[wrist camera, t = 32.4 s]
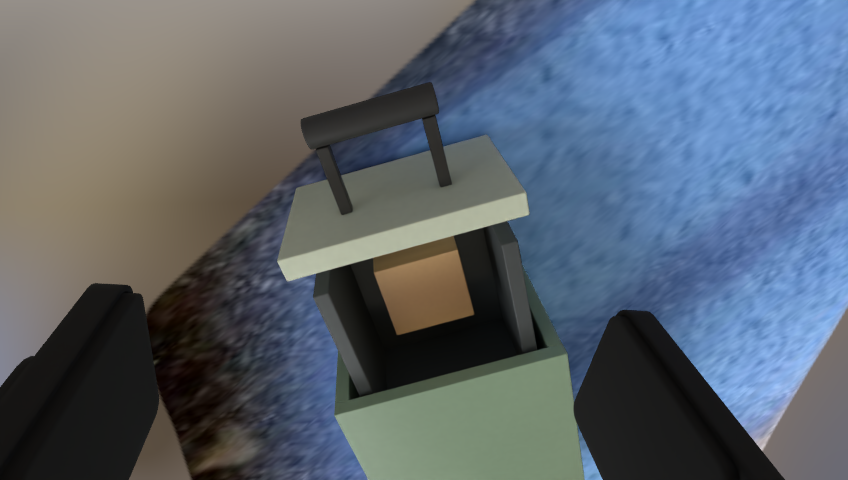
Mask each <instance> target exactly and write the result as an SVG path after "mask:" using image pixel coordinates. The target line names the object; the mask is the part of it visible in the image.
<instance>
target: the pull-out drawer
mask: <svg viewBox="0 0 848 480" xmlns="http://www.w3.org/2000/svg"><path fill="white" fill-rule="evenodd" d="M438 113H439V107H438V102H437V98H436V94H435V91H434V88H433V85H432V83H431V82H428V83H425V84H421V85H418V86H415V87H411V88H408V89H404V90H401V91H397V92H394V93H390V94H387V95H383V96H380V97H376V98H373V99H369V100H366V101H362V102H359V103H356V104H352V105H349V106H345V107H342V108H338V109H334V110H331V111H327V112H324V113H320V114H317V115H313V116H310V117H307V118H303V119H301V129H302V133H303V136H304V138H305V141H306V143H307V145H308V146H309V148H310V149H316V148H317V149H316V152H317V154H318V157H319V159H320V162H321V165H322V167H323V170H324V172H325V175H326V177H327V180H323V181H320V182H316V183H312V184H309V185H305V186H302V187H298V188H296V192H295V195H294V199H293V203H292V207H291V211H290V214H289V218H288V222H287V226H286V230H285V233H284V237H283V241H282V245H281V248H280V252H279V256H278V260H277V262H278V264H279V266H280V268H281V270H282V272H283V274H284V276H285V278H286V280H287V281H291V280H294V279H298V278H301V277H305V276H309V275H312V274H316V280H315V287H314V294H313V298H314V300H315V302H316V304H317V307H318V309H319V311H320V313H321V315H322V317H323V319H324V321H325V323H326V326H327V328H328V330H329V332H330V334H331V336H332V338H333V340H334V342H335V345H336V347H337V349H338V351H339V353H340V355H341V357H342V359H343V362H344V364H345V366H346V368H347V370H348V372H349V374H350V376H351V378H352V381H353V383H354V385H355V387H356V389H357V391H358V393H359V395H360V397H363V396H367V395H371V394H374V393H378V392H382V391H386V390H389V389H393V388H397V387H401V386H404V385H408V384H412V383H416V382H420V381H423V380H427V379H431V378H435V377H438V376H442V375H446V374H450V373H453V372H457V371H461V370H465V369H468V368H472V367H476V366H480V365H484V364H487V363H491V362H495V361H499V360H502V359H506V358H510V357H514V356H517V355H521V354H525V353H529V352H532V351H536V350H537V346H536V340H535V334H534V329H533V323H532V318H531V312H530V306H529V301H528V295H527V290H526V284H525V279H524V273H523V267H522V262H521V256H520V251H519V245H518V241H517V239H516V237H515V235H514V233H513V231H512V229H511V228H510V226H509V224H508V222H507V221H508V220H512V219H516V218H519V217H523V216H527V215H529V207H528V200H527V194H526V191H525V190H524V188H523V187H522V185H521V184H520V183H519V181H518V180H517V178H516V177H515V175H514V174H513V172H512V171H511V169H510V168H509V166H508V165H507V163H506V162H505V160H504V159H503V157H502V156H501V154H500V153H499V151H498V150H497V148H496V147H495V145H494V144H493V142H492V141H491V139H490V138H489V136H488V135H487V134H486V135H483V136H479V137H476V138H472V139H469V140H465V141H461V142H458V143H454V144H451V145H447V146H444V147H443V144H442V140H441V136H440V132H439V128H438V124H437V120H436V116H435V114H438ZM421 118H422V120H423V124H424V128H425V132H426V136H427V140H428V143H429V147H430V150H429V151H426V152H422V153H419V154H415V155H412V156H408V157H405V158H401V159H398V160H394V161H390V162H387V163H383V164H380V165H376V166H373V167H369V168H366V169H362V170H359V171H355V172H351V173H348V174H344V175H341V174H340V171H339V168H338V166H337V163H336V160H335V157H334V155H333V152H332V149H331V147H330V144H333V143H337V142H340V141H344V140H348V139H351V138H355V137H358V136H362V135H365V134H369V133H372V132H376V131H379V130H383V129H386V128H390V127H393V126H397V125H400V124H404V123H407V122H411V121H414V120H418V119H421ZM450 236H454V239H455V242H456V245H457V248H458V252H459V255H460V259H461V263H462V267H463V271H464V275H465V279H466V283H467V287H468V290H469V294H470V298H471V302H472V306H473V310H474V315H471V316H468V317H464V318H460V319H457V320H453V321H449V322H445V323H442V324H438V325H434V326H430V327H427V328H423V329H419V330H416V331H412V332H408V333H404V334H401V335H397V334H396V331H395V328H394V326H393V323H392V320H391V318H390V315H389V312H388V310H387V307H386V304H385V302H384V299H383V296H382V294H381V291H380V288H379V286H378V283H377V281H376V278H375V275H374V269H373V258H374V257H378V256H381V255H385V254H389V253H392V252H396V251H400V250H403V249H407V248H410V247H414V246H418V245H421V244H425V243H429V242H432V241H436V240H439V239H443V238H447V237H450Z"/></svg>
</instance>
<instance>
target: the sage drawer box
mask: <svg viewBox="0 0 848 480" xmlns="http://www.w3.org/2000/svg"><path fill="white" fill-rule="evenodd" d="M522 267H523V266H522ZM523 273H524V279H525V284H526V290H527V295H528V301H529V306H530V312H531V318H532V323H533V329H534V334H535V340H536V346H537V350H536V351H532V352H529V353H525V354H521V355H517V356H514V357H510V358H506V359H502V360H499V361H495V362H491V363H487V364H484V365H480V366H476V367H472V368H468V369H465V370H461V371H457V372H453V373H450V374H446V375H442V376H438V377H435V378H431V379H427V380H423V381H420V382H416V383H412V384H408V385H404V386H401V387H397V388H393V389H389V390H386V391H382V392H378V393H374V394H371V395H367V396H363V397H360V395H359V393H358V391H357V389H356V387H355V385H354V383H353V381H352V378H351V376H350V374H349V372H348V370H347V368H346V366H345V364H344V362H343V359H342V357H341V355H340V353H339V351H338V362H337V380H336V398H335V414H334V416H335V418H336V419H337V421H338V423H339V425H340V427H341V429H342V431H343V433H344V435H345V436H346V438H347V440H348V442H349V444H350V446H351V448H352V450H353V452H354V453H355V455H356V457H357V459H358V461H359V463H360V465H361V467H362V469H363V470H364V472H365V474H366V476H367V478H368V480H584V473H583V465H582V458H581V451H580V443H579V436H578V428H577V422H576V420H575V417H574V411H573V407H574V399H573V391H572V384H571V377H570V369H569V362H568V354H567V352H566V350H565V348H564V346H563V344H562V343H561V341H560V339H559V337H558V335H557V333H556V331H555V329H554V327H553V325H552V323H551V321H550V319H549V317H548V315H547V313H546V311H545V309H544V307H543V305H542V303H541V301H540V299H539V297H538V295H537V293H536V291H535V289H534V287H533V285H532V283H531V281H530V279H529V277H528V275H527V273H526V271H525V270H524V268H523Z"/></svg>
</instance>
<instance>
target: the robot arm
mask: <svg viewBox="0 0 848 480" xmlns="http://www.w3.org/2000/svg"><path fill="white" fill-rule="evenodd" d="M158 404H159V394H158V388H157V382H156V375H155V369H154V363H153V357H152V351H151V344H150V338H149V332H148V326H147V320H146V314H145V307H144V301H143V297H142V295H141V294H137V293H133V291H132V288H131V287H130V286H128V285H117V284H98V283H95V284H91V285H90V286H89V287H88V288H87V289H86V291H85V292H84V293H83V295H82V296H81V297H80V298H79V300H78V301H77V302H76V304H75V305H74V306H73V308H72V309H71V310H70V311H69V312H68V314H67V315H66V316H65V318H64V319H63V320H62V321H61V323H60V324H59V325H58V327H57V328H56V329H55V331H54V332H53V333H52V334H51V336H50V337H49V338H48V339H47V341H46V342H45V343H44V344H43V346H42V347H41V348H40V350H39V351H38V352H37V353H36V355H35V356H30V357H28V358H26V359H24V360H23V361H22V362H21V363H20V364H19V365H18V366H17V367H16V368H15V369H14V371H13V372H12V373H11V374H10V376H9V377H8V378H7V379H6V381H5V382H4V383H3V385H1V387H0V480H129V477H130V476H131V473H132V470H133V468H134V466H135V464H136V461H137V459H138V456H139V454H140V452H141V450H142V447H143V445H144V442H145V440H146V438H147V435H148V433H149V431H150V428H151V426H152V424H153V421H154V419H155V416H156V414H157V410H158ZM573 411H574V417H575V420H576V422H577V424H578V427H579V429H580V431H581V433H582V435H583V437H584V440H585V442H586V444H587V446H588V448H589V451H590V453H591V455H592V457H593V459H594V461H595V464H596V466H597V468H598V470H599V472H600V475H601V477H602V479H603V480H785V479H784V478H783V477H782V476H781V474H780V473H779V472H778V471H777V469H776V468H775V467H774V466H773V464H772V463H771V462H770V461H769V459H768V458H767V457H766V456H765V454H764V453H763V452H762V450H761V449H760V448H759V447H758V445H757V444H756V443H755V442H754V440H753V439H752V438H751V437H750V435H749V434H748V433H747V432H746V430H745V429H744V428H743V427H742V425H741V424H740V423H739V422H738V420H737V419H736V418H735V417H734V415H733V414H732V413H731V412H730V410H729V409H728V408H727V407H726V405H725V404H724V403H723V402H722V400H721V399H720V398H719V397H718V395H717V394H716V393H715V392H714V390H713V389H712V388H711V387H710V385H709V384H708V383H707V382H706V380H705V379H704V378H703V377H702V375H701V374H700V373H699V372H698V370H697V369H696V368H695V367H694V365H693V364H692V363H691V361H690V360H689V359H688V358H687V356H686V355H685V354H684V353H683V351H682V350H681V349H680V348H679V346H678V345H677V344H676V343H675V341H674V340H673V339H672V338H671V336H670V335H669V334H668V333H667V331H666V330H665V329H664V328H663V326H662V325H661V324H660V323H659V321H658V320H657V319H656V318H655V316H654V315H653V314H652V313H651V312H648V311H637V310H621V311H620V312H618V313H617V315H616V316H613V317H612V318H610V320H609V322H608V324H607V327H606V329H605V331H604V334H603V336H602V338H601V341H600V343H599V345H598V348H597V350H596V352H595V355H594V357H593V359H592V362H591V364H590V366H589V369H588V371H587V373H586V376H585V378H584V380H583V383H582V385H581V387H580V390H579V392H578V394H577V397H576V399H575V402H574V407H573Z"/></svg>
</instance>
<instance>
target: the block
mask: <svg viewBox="0 0 848 480" xmlns="http://www.w3.org/2000/svg"><path fill="white" fill-rule="evenodd" d="M373 269H374V275H375V278H376V281H377V283H378V286H379V288H380V291H381V294H382V296H383V299H384V302H385V304H386V307H387V310H388V312H389V315H390V318H391V320H392V323H393V326H394V328H395V331H396V334H397V335H401V334H404V333H408V332H412V331H416V330H419V329H423V328H427V327H430V326H434V325H438V324H442V323H445V322H449V321H453V320H457V319H460V318H464V317H468V316H471V315H474V310H473V306H472V302H471V298H470V294H469V290H468V287H467V283H466V279H465V275H464V271H463V267H462V263H461V259H460V255H459V252H458V248H457V245H456V242H455V239H454V236H450V237H447V238H443V239H439V240H436V241H432V242H429V243H425V244H421V245H418V246H414V247H410V248H407V249H403V250H400V251H396V252H392V253H389V254H385V255H381V256H378V257H374V258H373Z"/></svg>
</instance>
